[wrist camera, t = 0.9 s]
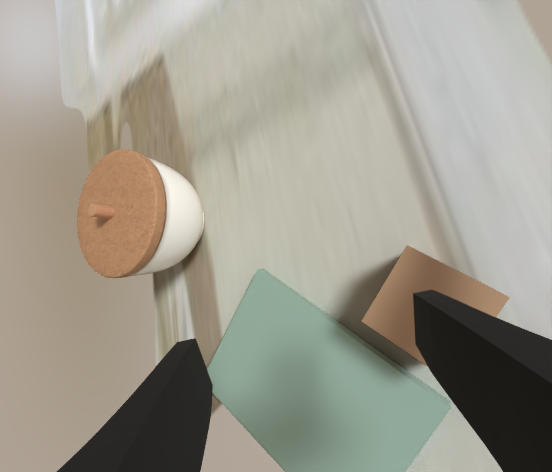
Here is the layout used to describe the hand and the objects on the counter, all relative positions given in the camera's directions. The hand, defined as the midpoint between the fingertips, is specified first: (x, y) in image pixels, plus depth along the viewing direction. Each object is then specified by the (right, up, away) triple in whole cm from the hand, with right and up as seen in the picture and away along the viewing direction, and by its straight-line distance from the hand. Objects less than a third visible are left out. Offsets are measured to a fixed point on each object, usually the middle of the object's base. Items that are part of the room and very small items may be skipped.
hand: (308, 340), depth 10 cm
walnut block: (+9, -1, +10) cm, 14 cm away
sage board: (+1, -9, +14) cm, 16 cm away
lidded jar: (-11, +5, +21) cm, 25 cm away
